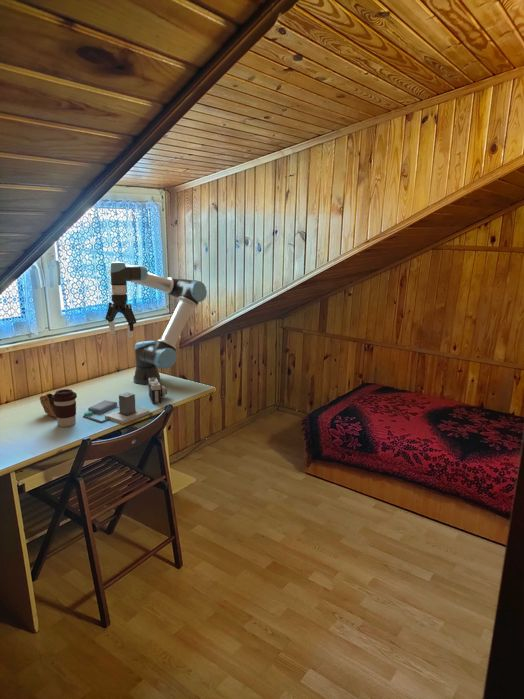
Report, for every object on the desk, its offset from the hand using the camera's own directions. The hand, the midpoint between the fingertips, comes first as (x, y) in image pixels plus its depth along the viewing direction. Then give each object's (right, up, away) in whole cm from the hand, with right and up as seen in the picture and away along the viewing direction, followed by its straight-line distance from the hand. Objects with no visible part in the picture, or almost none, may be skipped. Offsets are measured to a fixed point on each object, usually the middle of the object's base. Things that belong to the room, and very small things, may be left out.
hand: (121, 335), depth 235 cm
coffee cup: (-14, -40, -32) cm, 53 cm away
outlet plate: (+9, -38, -21) cm, 44 cm away
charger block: (+9, -37, -21) cm, 44 cm away
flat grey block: (-5, -36, -13) cm, 39 cm away
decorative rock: (-25, -37, -22) cm, 50 cm away
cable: (-4, -38, -25) cm, 46 cm away
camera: (+18, -32, +3) cm, 37 cm away
